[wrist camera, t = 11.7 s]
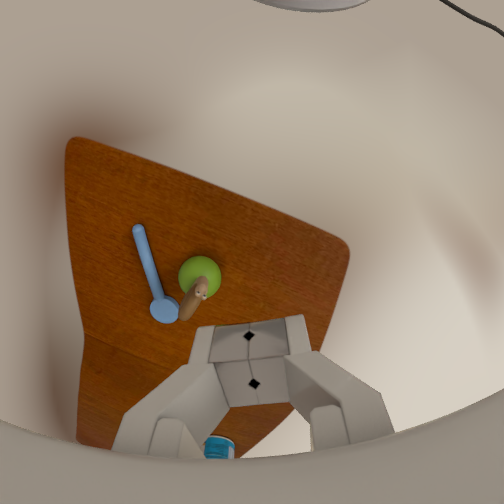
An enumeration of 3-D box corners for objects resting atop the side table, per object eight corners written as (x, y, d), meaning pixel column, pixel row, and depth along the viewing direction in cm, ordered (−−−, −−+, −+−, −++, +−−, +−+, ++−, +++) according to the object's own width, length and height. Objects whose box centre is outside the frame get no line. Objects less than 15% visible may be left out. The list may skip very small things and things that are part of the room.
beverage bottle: (242, 446, 59) (239, 521, 40) (212, 453, 60) (205, 523, 42) (221, 430, 56) (214, 512, 37) (190, 437, 57) (179, 513, 39)
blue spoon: (124, 225, 38) (119, 229, 36) (153, 219, 38) (149, 223, 36) (156, 320, 44) (154, 326, 42) (183, 318, 44) (181, 324, 42)
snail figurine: (234, 256, 39) (226, 308, 28) (211, 292, 42) (197, 349, 31) (198, 235, 38) (176, 281, 27) (176, 273, 41) (151, 325, 30)
